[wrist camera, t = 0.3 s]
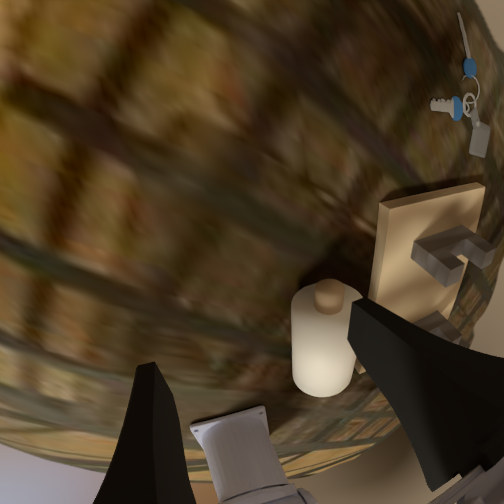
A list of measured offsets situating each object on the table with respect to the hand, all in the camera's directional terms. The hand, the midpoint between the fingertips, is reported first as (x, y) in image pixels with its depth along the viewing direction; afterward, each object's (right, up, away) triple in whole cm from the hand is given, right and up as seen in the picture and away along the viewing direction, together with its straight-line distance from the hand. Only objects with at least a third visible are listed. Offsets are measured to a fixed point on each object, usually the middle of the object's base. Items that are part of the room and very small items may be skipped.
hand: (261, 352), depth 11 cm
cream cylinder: (+5, -3, +12) cm, 14 cm away
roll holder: (+16, +1, +17) cm, 23 cm away
